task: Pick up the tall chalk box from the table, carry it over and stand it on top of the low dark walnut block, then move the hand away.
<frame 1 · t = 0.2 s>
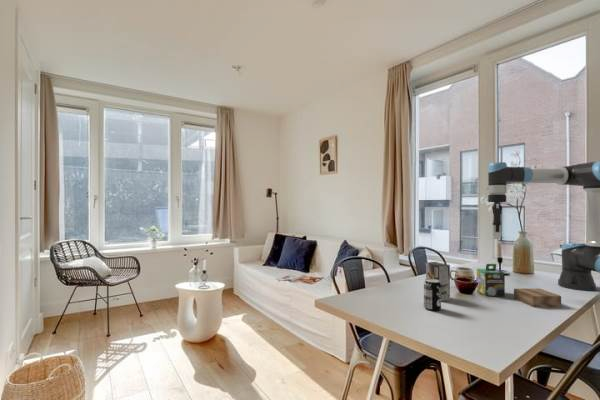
hand: (496, 237, 153), 27 cm above the table, tool pointing down, fingers open, 13 cm apart
walnut block: (536, 303, 140), on the table
beverage can: (432, 309, 132), on the table
coffee box: (437, 298, 147), on the table
chalk box: (490, 294, 154), on the table
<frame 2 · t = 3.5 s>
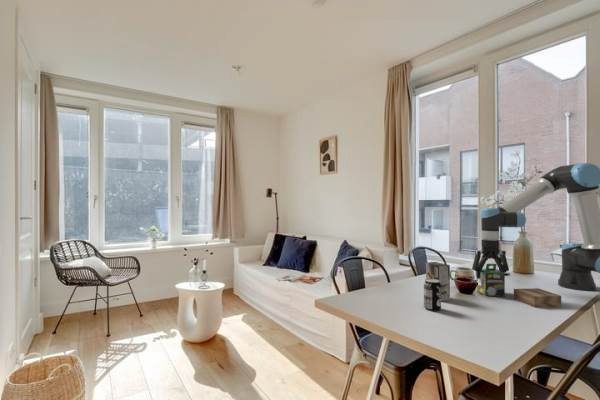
hand: (490, 285, 154), 4 cm above the table, tool pointing down, fingers closed on chalk box, 9 cm apart
chalk box: (490, 294, 154), on the table, touching gripper
everything else where it was.
when the fingers open (10 cm above the table, at t = 10.4 s): chalk box drops 2 cm, point 4 cm above the table.
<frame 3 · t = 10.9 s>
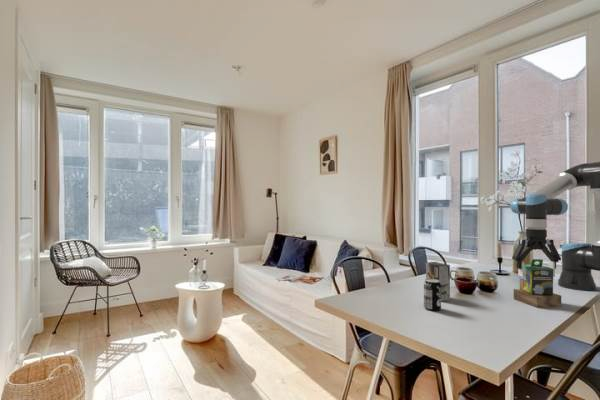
hand: (536, 276, 140), 12 cm above the table, tool pointing down, fingers open, 13 cm apart
chalk box: (535, 292, 140), point 4 cm above the table
everything else where it was.
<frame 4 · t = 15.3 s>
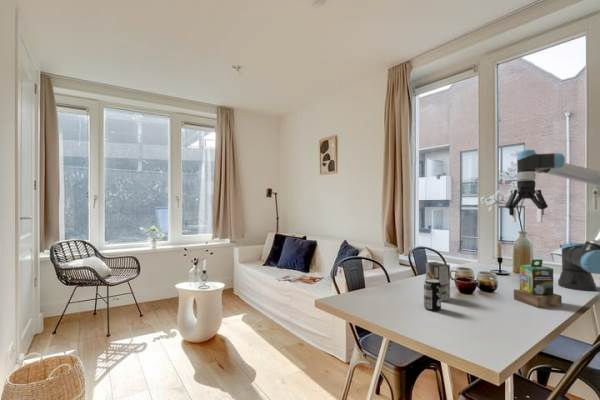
hand: (526, 221, 162), 35 cm above the table, tool pointing down, fingers open, 13 cm apart
walnut block: (536, 303, 140), on the table, touching chalk box
chalk box: (536, 292, 141), point 4 cm above the table, touching walnut block
everything else where it was.
at the end: chalk box 0.5 cm off-centre on the walnut block, point 4.8 cm above the walnut block's base; chalk box tilted 0°; the gripper is holding nothing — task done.
